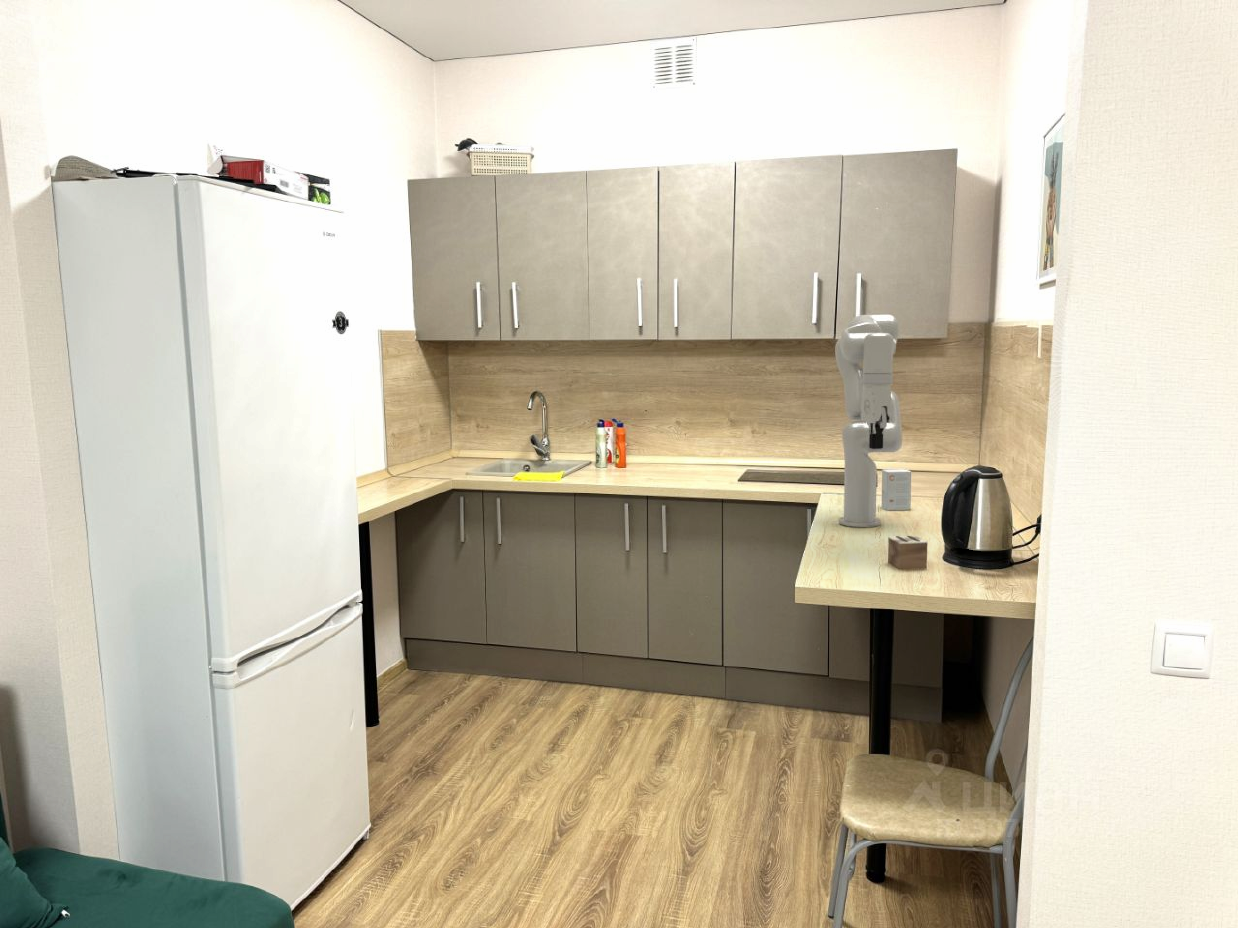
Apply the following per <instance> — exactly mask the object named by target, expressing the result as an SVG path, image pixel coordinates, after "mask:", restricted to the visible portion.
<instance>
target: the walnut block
mask: <svg viewBox="0 0 1238 928" xmlns="http://www.w3.org/2000/svg"><path fill="white" fill-rule="evenodd" d="M887 543H888V544H887V546H888V547H887V563H888V564H889V565H891V566H892V567H895V568H896V569H898V570H917V569H919V570H921V569H927V568H928V567H927V566H928V541H927V540H925V539H922V538H921V537H918V536H917V535H897V536H895V535H893V536H888V540H887Z"/></svg>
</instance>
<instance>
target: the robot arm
mask: <svg viewBox="0 0 1238 928" xmlns="http://www.w3.org/2000/svg"><path fill="white" fill-rule="evenodd" d="M899 332H900V326H899V321H898V319H897V318H896V317H895V316H894V315H892V314H889V313H888V314H887V313H886V314H884V313H883V314H861V315H857V316H855V317H854V318H852V319H851V320H850V321H849V323H848V327H847V328H845V329H844V330H843V331H842V333H841V336H840V338H839V339H837V341H836V342H835V345H834V346H835V348H834V352H835V361H836V364H837V369H838V371H839V373H840V376H841V378H842V380H843V386H844V388H843V389H844V403H845V412H846V415H847V418H848V419H849V420H851V421H852V422H851V421H850V422H849V423H846V424H845V425H844V427H843V428H842V432H841V433H842V435H841V437H842V444H843V454H844V482H843V483H844V487H843V489H844V490H843V492H844V493H843V501H844V502H843V516H841V517H840V518H838V524H839V525H843V526H846V527H851V528H852V527H853V528H872V527H878V526H881V524H882V521H881V520H882V519H880V518H877V517H876V516H877V483H878V482H877V479H878V478H877V477H878V474H877V473H878V468H877V465H876V463H875V462H874V460H873V459H872V457H870V456H869V454H870V453H871V454H873V453H895V452H898V451H899V450H900V449H901V448H902V444H903V430H902V429H903V428H902V420H901V419H902V417H901V407H900V401H899V397H898V395H897V394H896V393H895V392H894V391H892V390H891V388H892V387H891V386H893V367H894V366H893V363H894V362H893V361H894V360H893V359H894V358H893V357H894V355H895V354H896V349H897V342H898V340H899ZM859 363H863V365H860V364H859Z"/></svg>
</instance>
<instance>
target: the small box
mask: <svg viewBox="0 0 1238 928" xmlns="http://www.w3.org/2000/svg"><path fill="white" fill-rule="evenodd" d="M911 500H912V471H911V470H909V469H906V468H900V469H898V468H896V469H895V468H893V469H892V468H891V469H886V468H885V469H881V508H882V509H883V510H885V511H911V502H912V501H911Z"/></svg>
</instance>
